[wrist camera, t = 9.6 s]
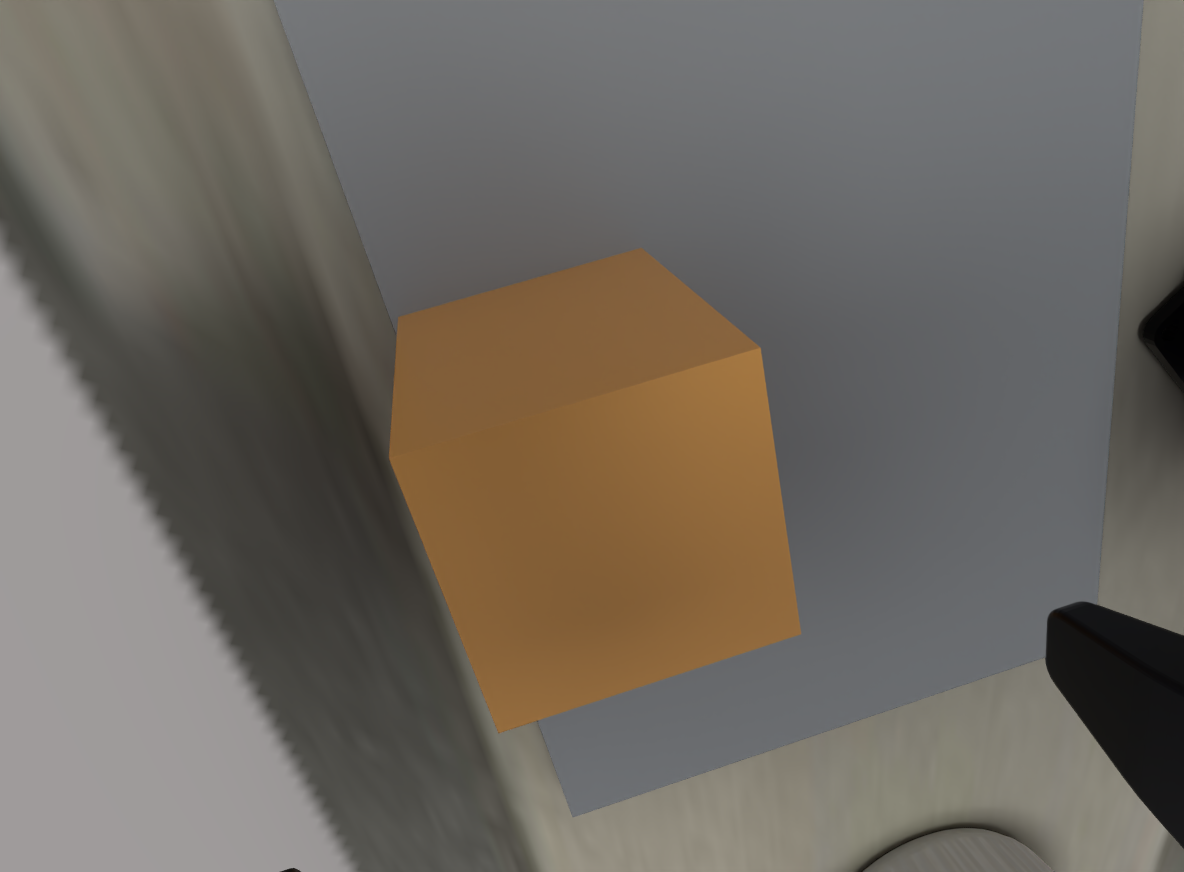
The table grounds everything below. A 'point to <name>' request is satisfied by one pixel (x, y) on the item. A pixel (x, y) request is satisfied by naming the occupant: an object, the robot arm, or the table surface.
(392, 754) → the table surface
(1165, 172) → the table surface
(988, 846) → the ramekin
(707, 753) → the flat grey board
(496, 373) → the orange cardboard-tone cube
